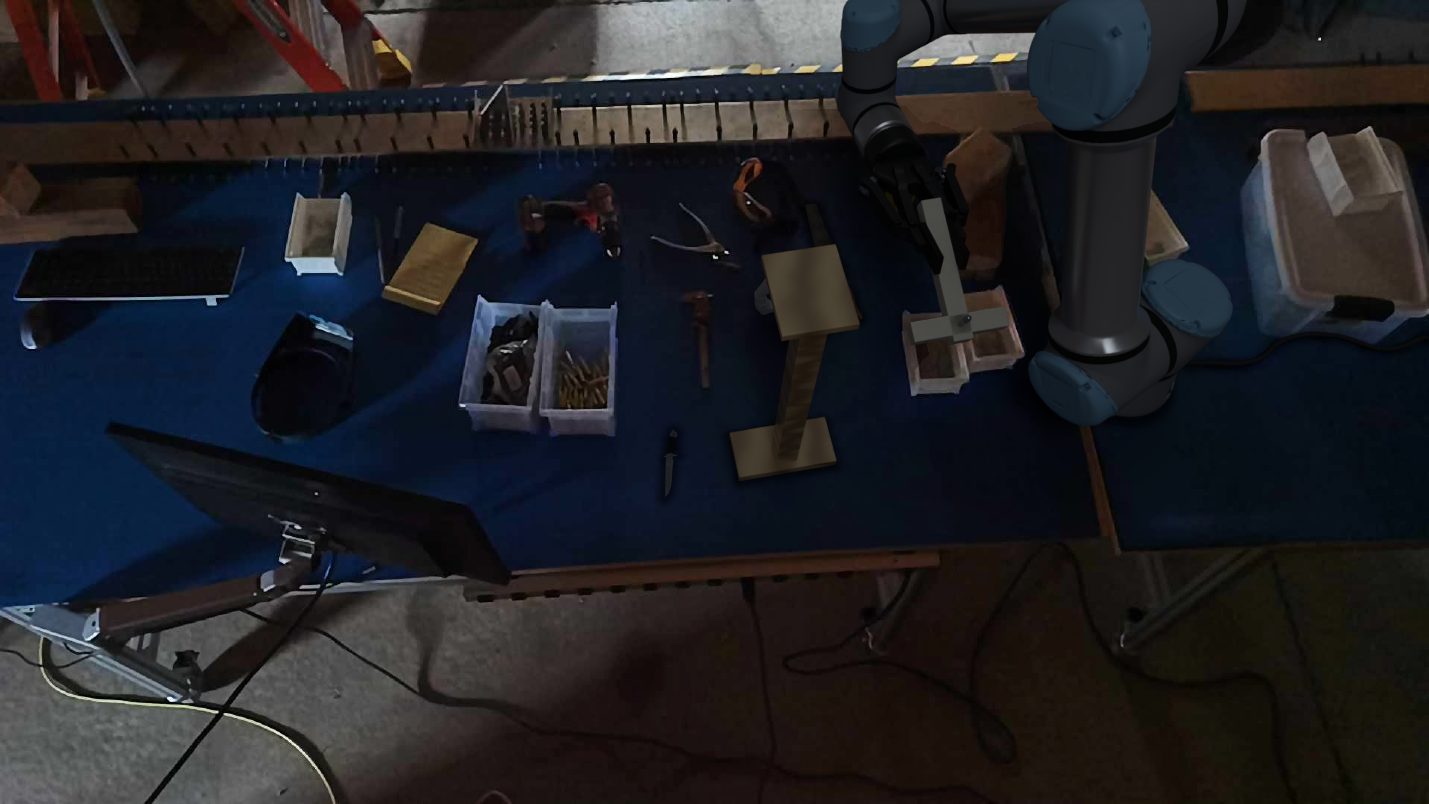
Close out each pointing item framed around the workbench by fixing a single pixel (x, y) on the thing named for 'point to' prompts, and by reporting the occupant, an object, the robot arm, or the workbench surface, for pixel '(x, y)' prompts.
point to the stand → (798, 361)
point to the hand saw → (821, 235)
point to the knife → (669, 461)
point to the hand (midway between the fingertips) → (952, 263)
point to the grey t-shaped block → (950, 293)
